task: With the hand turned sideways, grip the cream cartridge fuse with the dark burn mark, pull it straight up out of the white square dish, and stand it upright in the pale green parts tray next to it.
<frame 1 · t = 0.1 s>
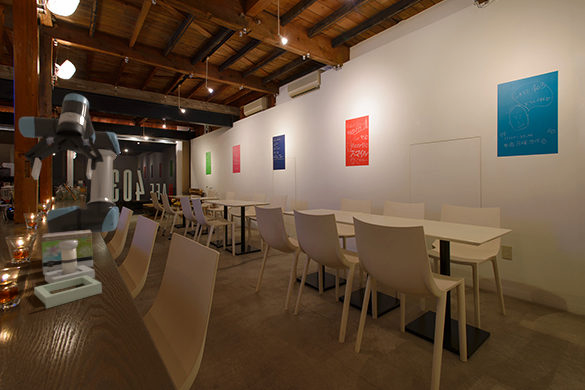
hand: (62, 177, 87), 36 cm above the bar counter, tool tilted 35°, fingers open, 13 cm apart
tea box: (69, 270, 108), on the bar counter
white square dish: (70, 281, 95), on the bar counter
parts tray: (68, 294, 83), on the bar counter
fuse: (70, 278, 95), point 1 cm above the bar counter, touching white square dish
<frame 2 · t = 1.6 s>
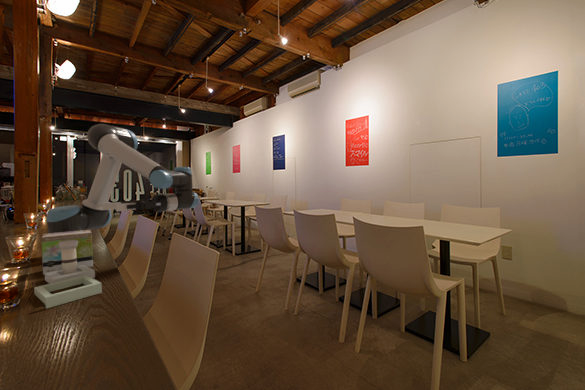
hand: (108, 207, 104), 25 cm above the bar counter, tool horizontal, fingers open, 13 cm apart
nothing on the bar counter moved.
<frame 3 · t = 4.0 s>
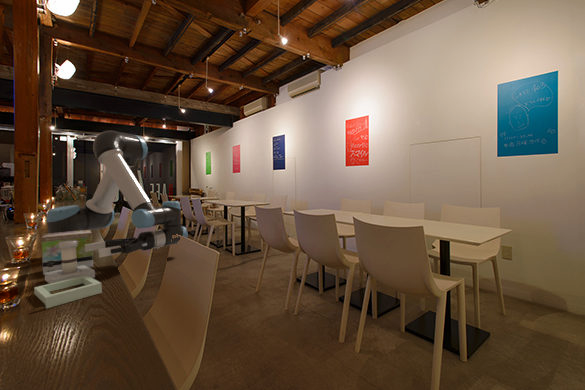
hand: (91, 250, 99), 9 cm above the bar counter, tool horizontal, fingers open, 13 cm apart
nothing on the bar counter moved.
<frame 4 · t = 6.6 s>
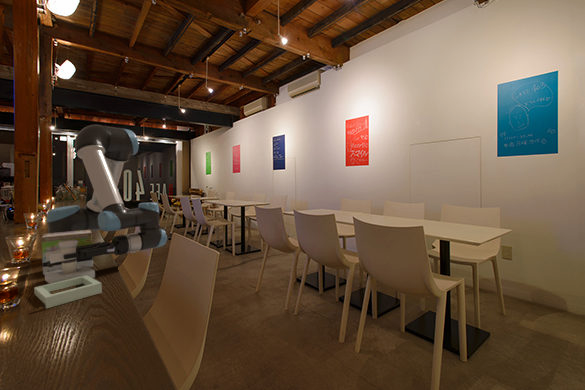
hand: (48, 257, 90), 10 cm above the bar counter, tool horizontal, fingers closed on fuse, 4 cm apart
fuse: (70, 278, 95), point 1 cm above the bar counter, touching white square dish, gripper
everything else where it was.
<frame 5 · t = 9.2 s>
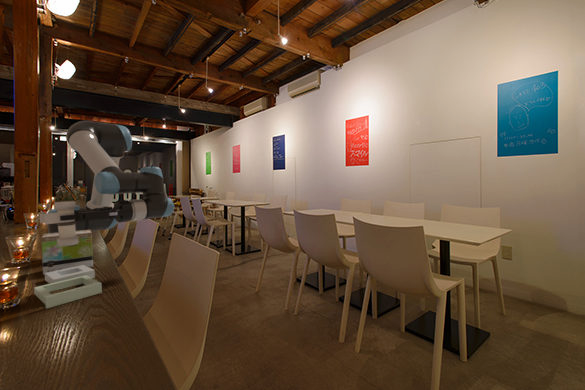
hand: (42, 219, 79), 24 cm above the bar counter, tool horizontal, fingers closed on fuse, 4 cm apart
fuse: (68, 244, 84), point 15 cm above the bar counter, touching gripper
everything else where it was.
when the fingers open (11 cm above the bar counter, at t = 12.0 s): fuse stays where it is, resting on parts tray.
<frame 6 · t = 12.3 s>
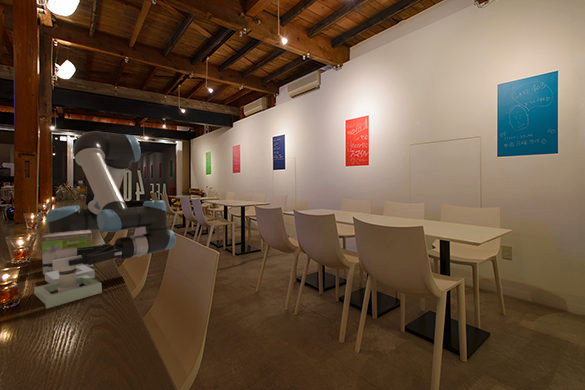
hand: (47, 262, 79), 11 cm above the bar counter, tool horizontal, fingers open, 10 cm apart
fuse: (69, 292, 83), point 1 cm above the bar counter, touching parts tray
everything else where it was.
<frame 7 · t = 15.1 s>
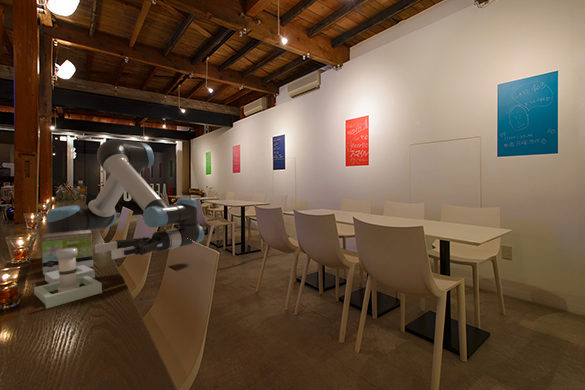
hand: (103, 251, 90), 11 cm above the bar counter, tool horizontal, fingers open, 13 cm apart
nothing on the bar counter moved.
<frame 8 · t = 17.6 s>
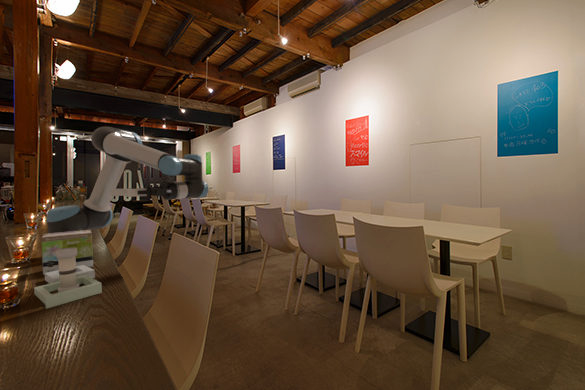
hand: (118, 192, 100), 30 cm above the bar counter, tool horizontal, fingers open, 13 cm apart
nothing on the bar counter moved.
at the end: fuse inside the target area on the parts tray (0.1 cm from its centre), point 0.8 cm above the parts tray's base; fuse tilted 0°; the gripper is holding nothing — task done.
